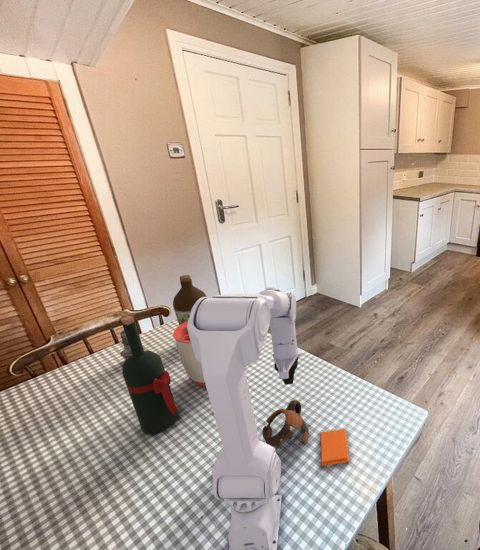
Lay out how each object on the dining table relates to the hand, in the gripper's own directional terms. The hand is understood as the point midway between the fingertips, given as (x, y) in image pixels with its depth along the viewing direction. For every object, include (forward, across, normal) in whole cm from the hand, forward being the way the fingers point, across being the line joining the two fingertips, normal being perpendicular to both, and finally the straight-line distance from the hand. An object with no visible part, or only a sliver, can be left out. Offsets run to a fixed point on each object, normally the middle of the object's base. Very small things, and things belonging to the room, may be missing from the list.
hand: (289, 382), depth 78 cm
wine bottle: (+9, 0, +32) cm, 33 cm away
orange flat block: (+8, -14, -10) cm, 19 cm away
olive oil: (+9, +38, +36) cm, 53 cm away
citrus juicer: (+9, +17, +24) cm, 30 cm away
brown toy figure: (+9, -8, 0) cm, 12 cm away
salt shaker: (+9, +29, +52) cm, 61 cm away
